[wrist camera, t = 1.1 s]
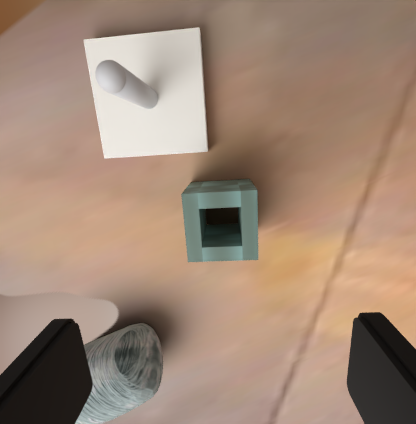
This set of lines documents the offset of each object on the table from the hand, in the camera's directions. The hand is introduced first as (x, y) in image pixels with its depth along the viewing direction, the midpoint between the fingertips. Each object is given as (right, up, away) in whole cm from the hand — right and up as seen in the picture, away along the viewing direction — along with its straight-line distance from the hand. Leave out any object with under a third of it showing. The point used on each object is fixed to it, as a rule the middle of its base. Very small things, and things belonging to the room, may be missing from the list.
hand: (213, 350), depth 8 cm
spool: (-11, -13, +24) cm, 29 cm away
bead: (+1, +5, +18) cm, 18 cm away
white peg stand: (-5, +15, +15) cm, 22 cm away
